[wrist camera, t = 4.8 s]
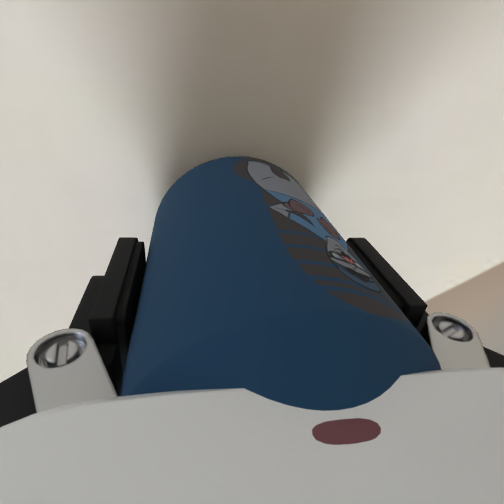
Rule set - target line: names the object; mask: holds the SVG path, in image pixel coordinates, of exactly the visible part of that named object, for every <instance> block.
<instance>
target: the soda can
mask: <svg viewBox="0 0 504 504" xmlns="http://www.w3.org/2000/svg"><path fill="white" fill-rule="evenodd" d="M433 370H442V369H441V366H440V363H439V361H438V359H437V357H436V355H435V353H434V352H433V350H432V349H431V347H430V346H429V345H428V343H427V342H426V341H425V340H424V338H423V337H422V336H421V335H420V333H419V332H418V331H417V330H416V328H415V327H414V326H413V325H412V324H411V322H410V321H409V320H408V319H407V317H406V316H405V315H404V314H403V312H402V311H401V310H400V309H399V307H398V306H397V305H396V304H395V302H394V301H393V300H392V299H391V297H390V296H389V295H388V294H387V292H386V291H385V290H384V289H383V288H382V286H381V285H380V284H379V283H378V281H377V280H376V279H375V278H374V276H373V275H372V274H371V273H370V271H369V270H368V269H367V268H366V266H365V265H364V264H363V263H362V261H361V260H360V259H359V258H358V256H357V255H356V254H355V253H354V251H353V250H352V249H351V248H350V247H349V245H348V244H347V243H346V242H345V240H344V239H343V238H342V237H341V235H340V234H339V233H338V232H337V230H336V229H335V228H334V227H333V225H332V224H331V223H330V222H329V220H328V219H327V218H326V217H325V215H324V214H323V213H322V212H321V210H320V209H319V208H318V207H317V206H316V204H315V203H314V202H313V201H312V199H311V198H310V197H309V196H308V194H307V193H306V192H305V191H304V189H303V188H302V187H301V186H300V184H299V183H298V182H297V181H296V180H295V179H294V178H293V177H292V176H291V175H290V174H288V173H287V172H286V171H284V170H283V169H281V168H280V167H278V166H276V165H274V164H272V163H269V162H267V161H264V160H260V159H257V158H251V157H225V158H219V159H215V160H212V161H208V162H206V163H203V164H201V165H199V166H197V167H195V168H193V169H192V170H190V171H188V172H187V173H186V174H184V175H183V176H182V177H180V178H179V179H178V180H177V181H176V182H175V183H174V184H173V185H172V186H171V188H170V189H169V190H168V192H167V193H166V194H165V196H164V198H163V199H162V201H161V203H160V206H159V208H158V211H157V214H156V218H155V222H154V227H153V232H152V237H151V242H150V247H149V252H148V256H147V261H146V266H145V271H144V276H143V281H142V286H141V290H140V295H139V300H138V305H137V310H136V315H135V320H134V324H133V329H132V334H131V339H130V344H129V349H128V354H127V359H126V363H125V368H124V373H123V378H122V383H121V388H120V393H119V397H120V396H129V395H138V394H148V393H159V392H169V391H182V390H201V389H231V388H245V389H247V390H249V391H251V392H253V393H255V394H258V395H260V396H262V397H265V398H267V399H270V400H273V401H276V402H279V403H282V404H285V405H289V406H293V407H298V408H303V409H309V410H319V411H333V410H343V409H349V408H354V407H357V406H360V405H363V404H366V403H368V402H370V401H372V400H374V399H376V398H378V397H379V396H381V395H382V394H383V393H384V392H386V391H387V390H388V389H389V388H391V386H392V385H393V384H394V383H395V382H396V381H397V380H398V378H399V377H400V376H401V375H407V374H412V373H418V372H425V371H433ZM380 433H381V427H380V426H379V424H378V423H376V422H374V421H372V420H370V419H363V418H353V419H340V420H333V421H326V422H323V423H320V424H318V425H316V426H315V427H314V428H313V429H312V434H313V436H314V438H315V439H316V440H317V441H319V442H322V443H325V444H331V445H343V444H355V443H361V442H366V441H370V440H373V439H375V438H377V437H378V435H379V434H380Z"/></svg>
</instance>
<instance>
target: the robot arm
mask: <svg viewBox="0 0 504 504" xmlns="http://www.w3.org/2000/svg"><path fill="white" fill-rule="evenodd" d="M346 243H347V244H348V245H349V247H350V248H351V249H352V250H353V251H354V253H355V254H356V255H357V256H358V258H359V259H360V260H361V261H362V263H363V264H364V265H365V266H366V268H367V269H368V270H369V271H370V273H371V274H372V275H373V276H374V278H375V279H376V280H377V281H378V283H379V284H380V285H381V286H382V288H383V289H384V290H385V291H386V292H387V294H388V295H389V296H390V297H391V299H392V300H393V301H394V302H395V304H396V305H397V306H398V307H399V309H400V310H401V311H402V312H403V314H404V315H405V316H406V317H407V319H408V320H409V321H410V322H411V324H412V325H413V326H414V327H415V328H416V330H417V331H418V332H419V333H420V335H421V336H422V337H423V338H424V340H425V341H426V342H427V343H428V345H429V346H430V347H431V349H432V350H433V352H434V353H435V355H436V357H437V359H438V361H439V363H440V366H441V369H442V370H433V371H425V372H418V373H412V374H407V375H401V376H400V377H399V378H398V380H397V381H396V382H395V383H394V384H393V385H392V386H391V388H389V389H388V390H387V391H386V392H384V393H383V394H382V395H381V396H379V397H378V398H376V399H374V400H372V401H370V402H368V403H366V404H363V405H360V406H357V407H354V408H349V409H343V410H333V411H319V410H309V409H303V408H298V407H293V406H289V405H285V404H282V403H279V402H276V401H273V400H270V399H267V398H265V397H262V396H260V395H258V394H255V393H253V392H251V391H249V390H247V389H245V388H231V389H201V390H182V391H169V392H159V393H148V394H138V395H129V396H120V397H119V393H120V388H121V383H122V378H123V373H124V368H125V363H126V359H127V354H128V349H129V344H130V339H131V334H132V329H133V324H134V320H135V315H136V310H137V305H138V300H139V295H140V290H141V286H142V281H143V276H144V271H145V266H146V258H145V247H144V242H138V239H137V238H119V239H118V242H117V245H116V247H115V250H114V252H113V255H112V258H111V260H110V263H109V266H108V268H107V271H106V273H105V276H93V277H92V278H91V279H90V281H89V284H88V286H87V288H86V290H85V293H84V295H83V297H82V299H81V302H80V304H79V306H78V309H77V311H76V313H75V315H74V318H73V320H72V322H71V324H70V327H69V329H62V330H58V331H55V332H52V333H50V334H48V335H45V336H44V337H42V338H41V339H39V340H38V341H37V342H36V343H35V344H34V345H33V346H32V347H31V348H30V350H29V352H28V354H27V360H26V362H27V368H25V369H24V370H22V371H20V372H19V373H17V374H15V375H13V376H12V377H10V378H8V379H6V380H5V381H3V382H1V383H0V504H504V356H503V355H501V354H498V353H497V352H494V351H492V350H490V349H487V348H485V347H483V346H482V343H481V340H480V338H479V335H478V333H477V332H476V330H475V329H474V328H473V327H472V326H471V325H470V324H468V323H467V322H466V321H464V320H462V319H461V318H459V317H457V316H454V315H451V314H448V313H442V312H435V313H432V314H430V315H428V313H427V312H426V311H425V310H426V308H427V304H426V303H425V302H424V301H423V300H422V299H421V298H420V297H419V296H418V295H417V294H416V293H415V291H414V290H413V289H412V288H411V287H410V286H409V285H408V284H407V283H406V282H405V281H404V280H403V279H402V277H401V276H400V275H399V274H398V273H397V272H396V271H395V270H394V269H393V268H392V267H391V266H390V265H389V263H388V262H387V261H386V260H385V259H384V258H383V257H382V256H381V255H380V254H379V253H378V252H377V251H376V249H375V248H374V247H373V246H372V245H371V244H370V243H369V242H368V241H367V240H366V239H365V238H349V239H348V240H347V241H346ZM353 418H363V419H370V420H372V421H374V422H376V423H378V424H379V426H380V427H381V433H380V434H379V435H378V437H377V438H375V439H373V440H370V441H366V442H361V443H355V444H343V445H331V444H325V443H322V442H319V441H317V440H316V439H315V438H314V436H313V434H312V429H313V428H314V427H315V426H316V425H318V424H320V423H323V422H326V421H333V420H340V419H353Z"/></svg>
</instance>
